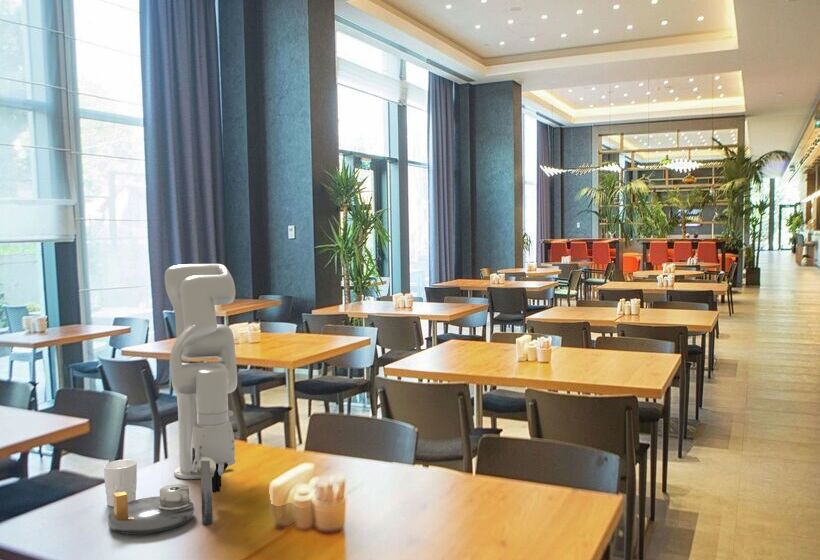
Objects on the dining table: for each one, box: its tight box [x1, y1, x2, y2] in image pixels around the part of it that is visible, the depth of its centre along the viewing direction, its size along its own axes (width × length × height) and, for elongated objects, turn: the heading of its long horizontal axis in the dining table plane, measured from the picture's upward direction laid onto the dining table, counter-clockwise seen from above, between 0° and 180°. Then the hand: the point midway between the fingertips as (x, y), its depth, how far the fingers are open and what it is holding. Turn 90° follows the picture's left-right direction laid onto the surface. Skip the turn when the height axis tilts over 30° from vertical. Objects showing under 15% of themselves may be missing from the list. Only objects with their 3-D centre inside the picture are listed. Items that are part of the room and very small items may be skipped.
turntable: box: [107, 492, 195, 535], centre depth 169 cm, size 19×19×7 cm
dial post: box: [190, 457, 216, 526], centre depth 168 cm, size 6×2×16 cm, turn 86°
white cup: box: [103, 459, 138, 508], centre depth 182 cm, size 8×8×10 cm
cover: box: [158, 483, 192, 511], centre depth 172 cm, size 8×8×4 cm
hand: (214, 490), depth 178 cm, fingers closed
